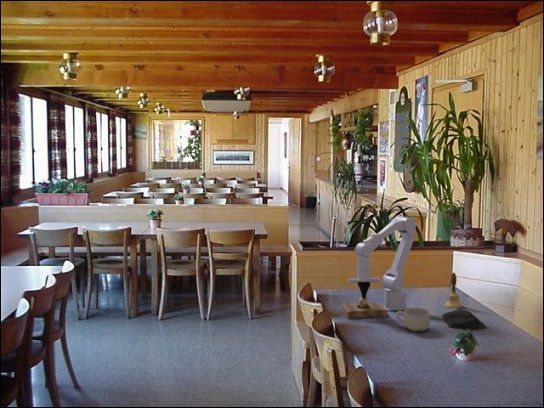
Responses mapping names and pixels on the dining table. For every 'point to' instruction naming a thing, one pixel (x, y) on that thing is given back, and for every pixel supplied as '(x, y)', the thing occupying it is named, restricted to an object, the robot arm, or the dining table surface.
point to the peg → (363, 303)
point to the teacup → (415, 318)
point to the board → (364, 310)
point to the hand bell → (453, 295)
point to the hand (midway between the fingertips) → (363, 298)
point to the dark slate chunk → (462, 320)
